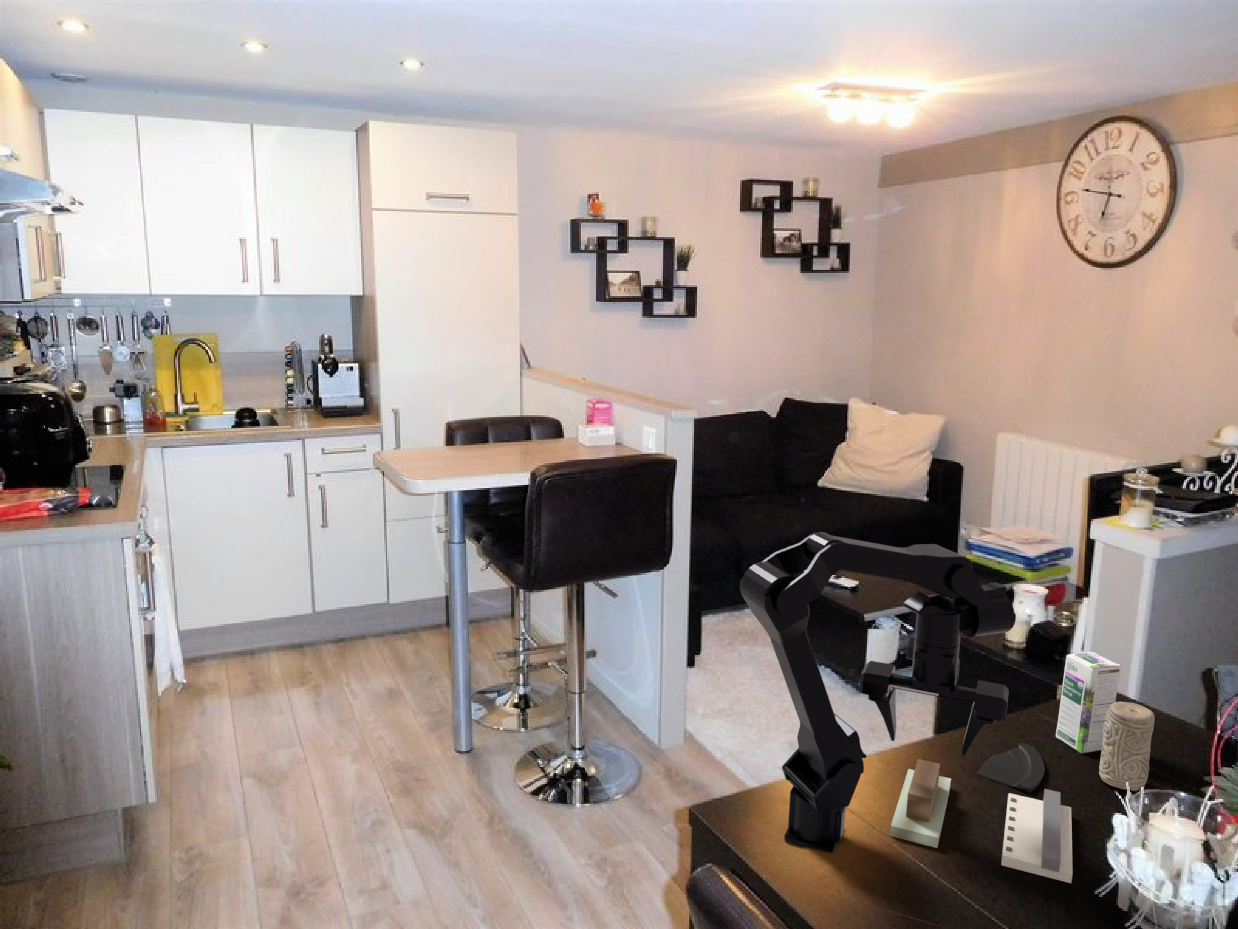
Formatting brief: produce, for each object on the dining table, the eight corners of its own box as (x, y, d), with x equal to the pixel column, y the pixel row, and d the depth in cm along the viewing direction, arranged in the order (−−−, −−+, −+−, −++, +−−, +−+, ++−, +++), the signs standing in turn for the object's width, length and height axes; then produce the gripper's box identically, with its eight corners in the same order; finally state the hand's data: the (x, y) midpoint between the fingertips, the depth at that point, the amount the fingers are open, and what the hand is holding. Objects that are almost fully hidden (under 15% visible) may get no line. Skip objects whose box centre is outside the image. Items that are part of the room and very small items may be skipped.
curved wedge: (1062, 764, 142) (1063, 755, 142) (1030, 800, 132) (1031, 789, 132) (1007, 745, 148) (1008, 736, 147) (973, 778, 138) (974, 768, 138)
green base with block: (889, 836, 122) (892, 801, 121) (907, 778, 136) (910, 747, 135) (937, 848, 120) (940, 813, 119) (950, 788, 134) (953, 756, 133)
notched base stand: (1000, 868, 116) (1003, 846, 115) (1007, 801, 131) (1009, 781, 131) (1071, 886, 113) (1074, 864, 112) (1069, 815, 128) (1072, 795, 127)
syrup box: (1054, 737, 150) (1064, 653, 147) (1083, 732, 151) (1093, 649, 148) (1080, 754, 144) (1092, 668, 141) (1110, 749, 146) (1122, 664, 143)
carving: (1150, 781, 137) (1161, 706, 135) (1140, 802, 131) (1151, 725, 129) (1103, 766, 141) (1113, 693, 138) (1091, 787, 135) (1101, 711, 133)
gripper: (1015, 631, 126) (1004, 736, 129) (876, 609, 134) (869, 708, 137) (1011, 661, 116) (999, 774, 120) (861, 636, 124) (854, 742, 127)
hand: (927, 747), depth 126 cm, fingers open, 9 cm apart
